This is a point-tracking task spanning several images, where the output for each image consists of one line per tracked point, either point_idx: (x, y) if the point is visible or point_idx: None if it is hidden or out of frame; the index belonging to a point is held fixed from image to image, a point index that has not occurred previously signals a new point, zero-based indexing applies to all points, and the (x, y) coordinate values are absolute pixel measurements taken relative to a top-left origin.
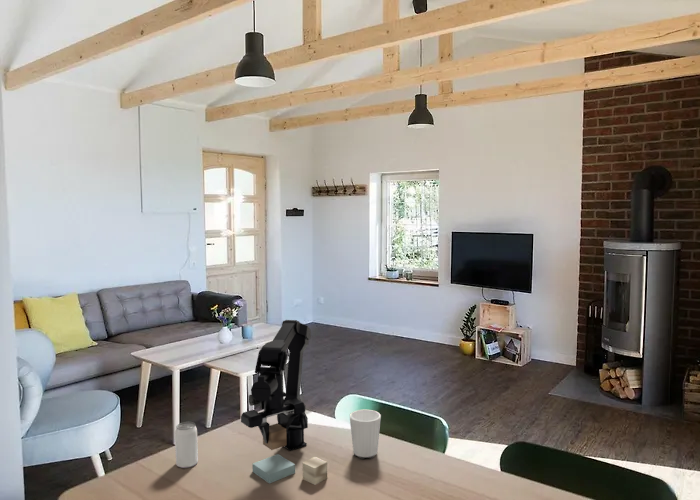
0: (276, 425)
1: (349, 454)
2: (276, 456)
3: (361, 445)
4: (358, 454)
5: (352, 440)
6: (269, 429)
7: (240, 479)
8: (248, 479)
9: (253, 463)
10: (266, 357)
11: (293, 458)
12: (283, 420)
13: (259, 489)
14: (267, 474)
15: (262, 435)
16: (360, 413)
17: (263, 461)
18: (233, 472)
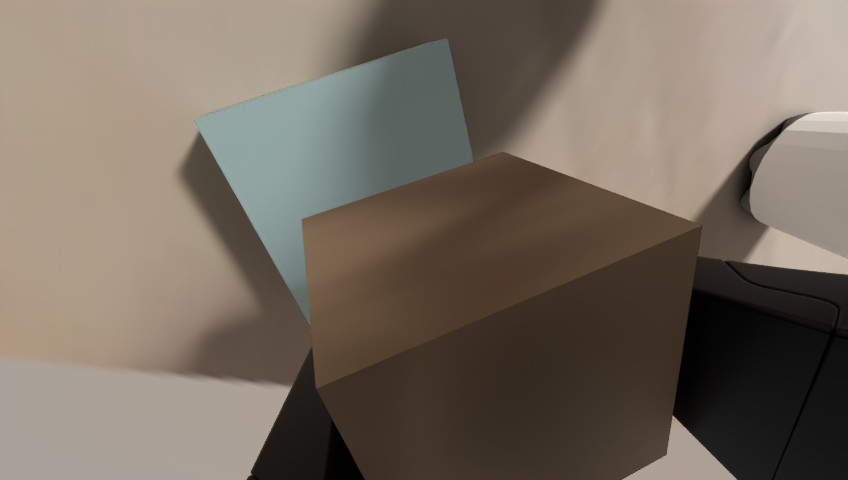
0: (631, 323)
1: (742, 140)
2: (423, 82)
3: (815, 238)
4: (757, 205)
5: (837, 179)
6: (445, 473)
7: (98, 194)
8: (169, 213)
9: (204, 123)
10: None
11: (528, 42)
12: (828, 444)
13: (241, 339)
14: (301, 308)
15: (283, 419)
16: None
17: (302, 122)
18: (7, 47)
